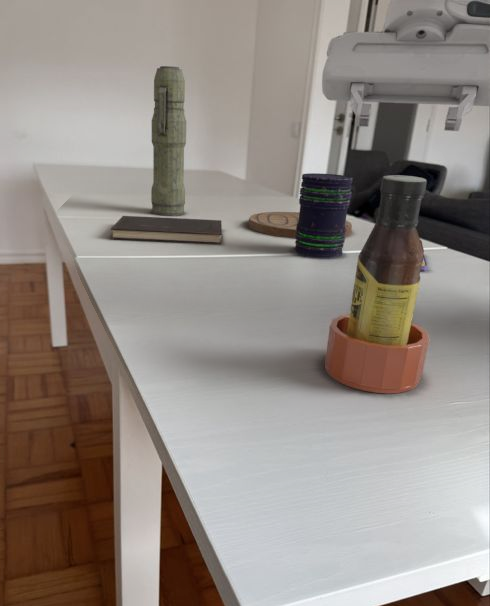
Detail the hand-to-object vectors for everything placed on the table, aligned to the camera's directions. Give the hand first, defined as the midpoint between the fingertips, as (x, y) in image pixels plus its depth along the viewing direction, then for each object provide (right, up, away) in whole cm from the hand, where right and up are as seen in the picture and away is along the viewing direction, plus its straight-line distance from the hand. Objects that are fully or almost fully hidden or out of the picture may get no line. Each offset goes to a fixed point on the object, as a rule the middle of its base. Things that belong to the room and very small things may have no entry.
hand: (406, 124), depth 59 cm
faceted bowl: (-4, -27, 0) cm, 27 cm away
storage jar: (0, -5, +52) cm, 52 cm away
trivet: (0, +5, +76) cm, 76 cm away
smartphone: (+17, -7, +49) cm, 52 cm away
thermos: (-33, +12, +88) cm, 95 cm away
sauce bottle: (-4, -27, 0) cm, 27 cm away
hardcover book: (-31, +1, +63) cm, 70 cm away
